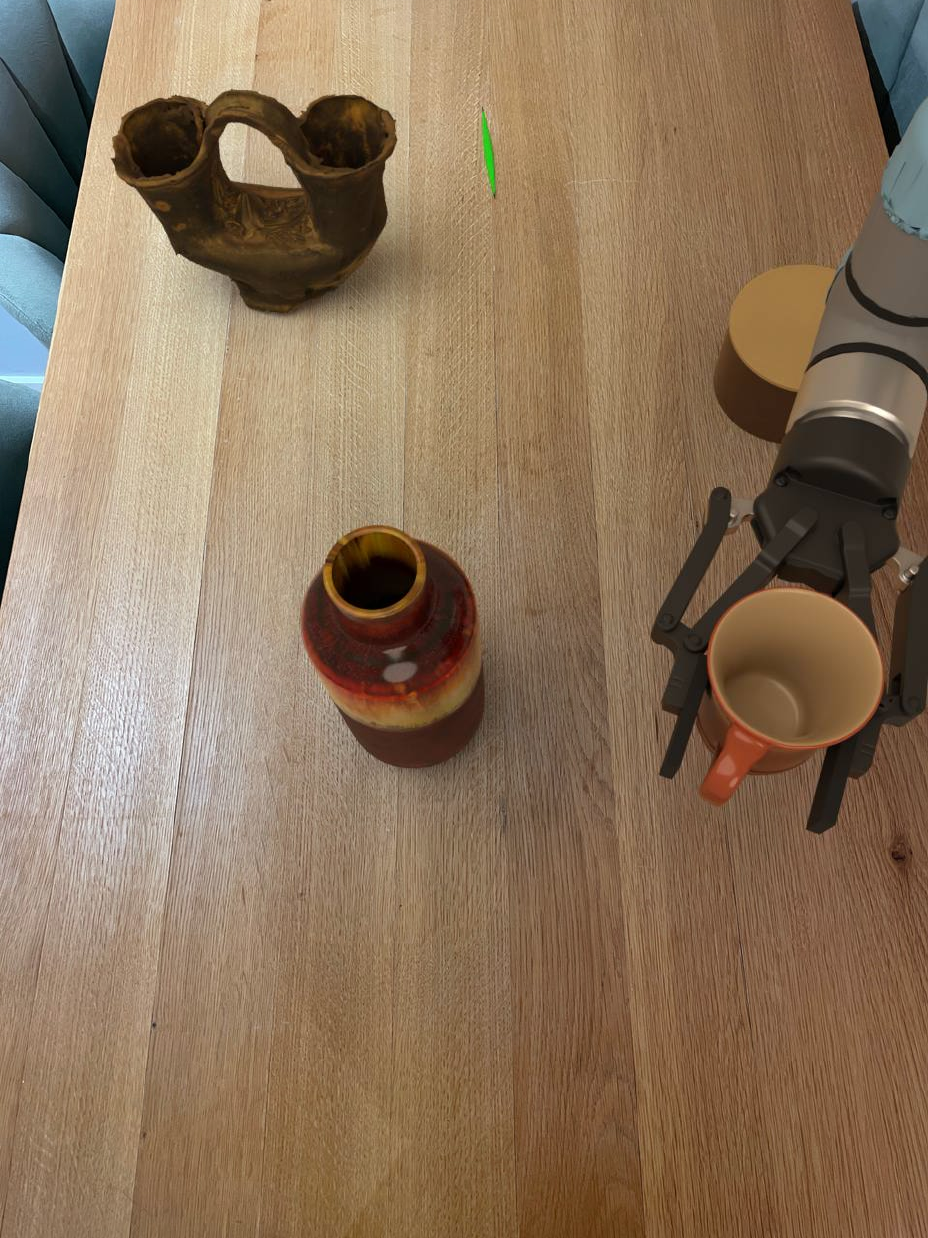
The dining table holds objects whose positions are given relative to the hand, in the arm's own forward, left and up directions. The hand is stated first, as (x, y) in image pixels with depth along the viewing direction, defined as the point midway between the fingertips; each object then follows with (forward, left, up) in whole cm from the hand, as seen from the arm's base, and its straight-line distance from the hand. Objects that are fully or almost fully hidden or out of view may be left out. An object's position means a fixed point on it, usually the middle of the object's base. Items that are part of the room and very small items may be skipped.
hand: (743, 798), depth 49 cm
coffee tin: (-9, -44, -23) cm, 51 cm away
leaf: (+21, -72, -23) cm, 79 cm away
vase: (+21, -10, -23) cm, 33 cm away
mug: (-1, -5, -6) cm, 8 cm away
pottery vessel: (+39, -54, -23) cm, 70 cm away
